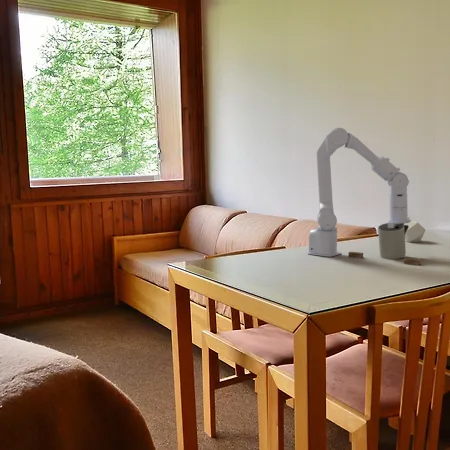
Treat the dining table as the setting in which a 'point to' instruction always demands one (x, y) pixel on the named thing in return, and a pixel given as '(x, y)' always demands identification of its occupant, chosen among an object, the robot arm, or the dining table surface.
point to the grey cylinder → (391, 241)
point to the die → (414, 232)
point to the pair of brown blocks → (406, 260)
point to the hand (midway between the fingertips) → (399, 246)
